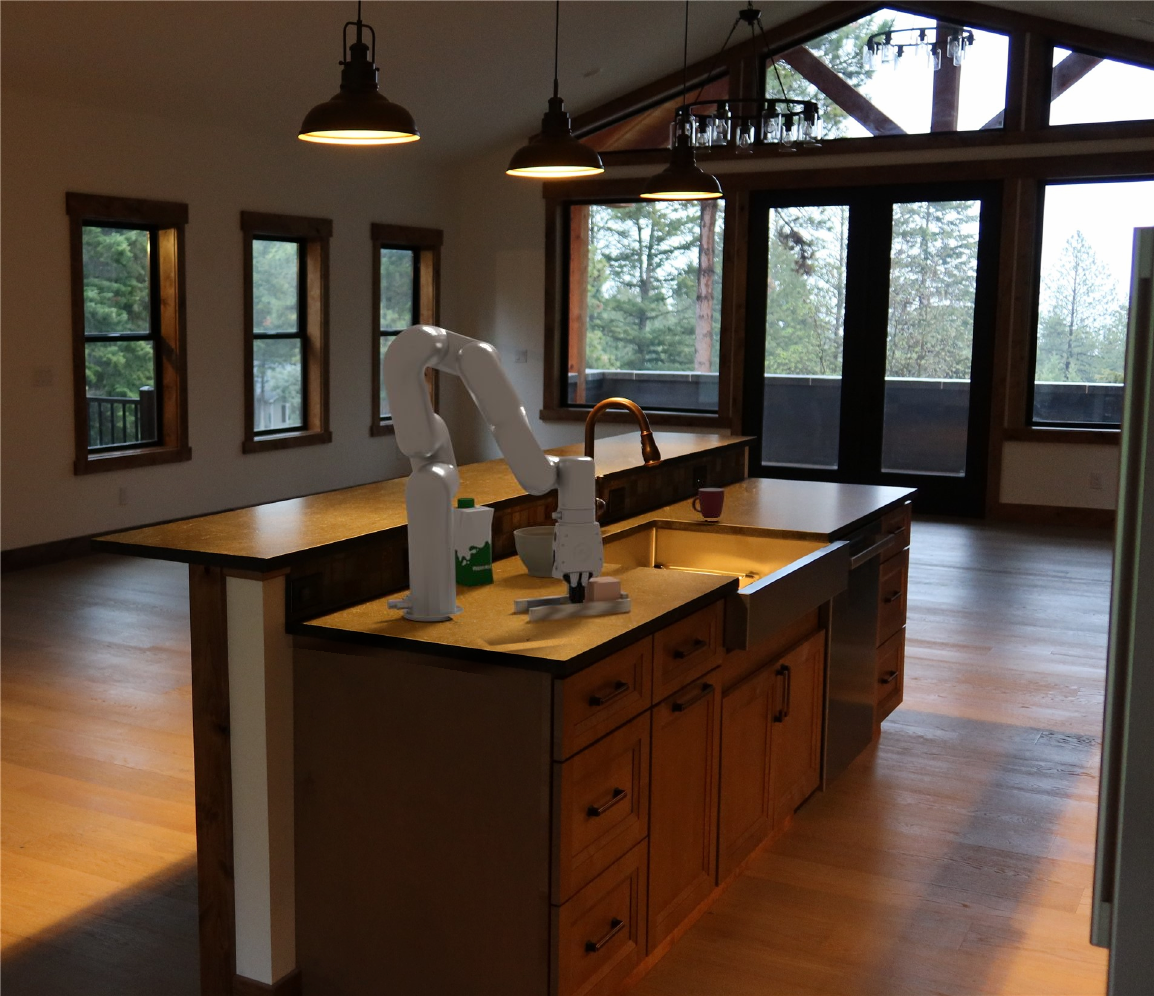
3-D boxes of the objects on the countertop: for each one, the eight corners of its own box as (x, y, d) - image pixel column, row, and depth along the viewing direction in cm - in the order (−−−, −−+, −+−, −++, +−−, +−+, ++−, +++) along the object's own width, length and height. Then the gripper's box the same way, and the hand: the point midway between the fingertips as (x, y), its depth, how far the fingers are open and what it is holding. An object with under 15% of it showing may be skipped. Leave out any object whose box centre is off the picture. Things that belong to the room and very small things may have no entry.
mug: (687, 521, 381) (687, 490, 379) (695, 518, 388) (695, 487, 387) (720, 523, 376) (720, 491, 375) (727, 519, 384) (727, 488, 383)
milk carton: (476, 578, 292) (475, 496, 290) (499, 583, 286) (498, 499, 283) (446, 583, 287) (444, 499, 284) (469, 589, 280) (467, 503, 277)
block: (594, 612, 250) (594, 583, 249) (584, 606, 255) (583, 578, 254) (620, 609, 252) (620, 581, 251) (610, 604, 257) (609, 576, 256)
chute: (531, 626, 242) (530, 604, 241) (514, 616, 251) (513, 595, 251) (630, 616, 250) (630, 594, 250) (611, 606, 260) (610, 586, 259)
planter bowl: (567, 566, 307) (566, 524, 305) (590, 577, 292) (589, 533, 290) (506, 571, 301) (505, 528, 300) (526, 583, 286) (525, 537, 285)
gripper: (549, 521, 242) (549, 611, 245) (617, 516, 248) (617, 604, 250) (536, 516, 249) (536, 603, 251) (602, 512, 255) (602, 597, 257)
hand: (577, 604), depth 251 cm, fingers closed
